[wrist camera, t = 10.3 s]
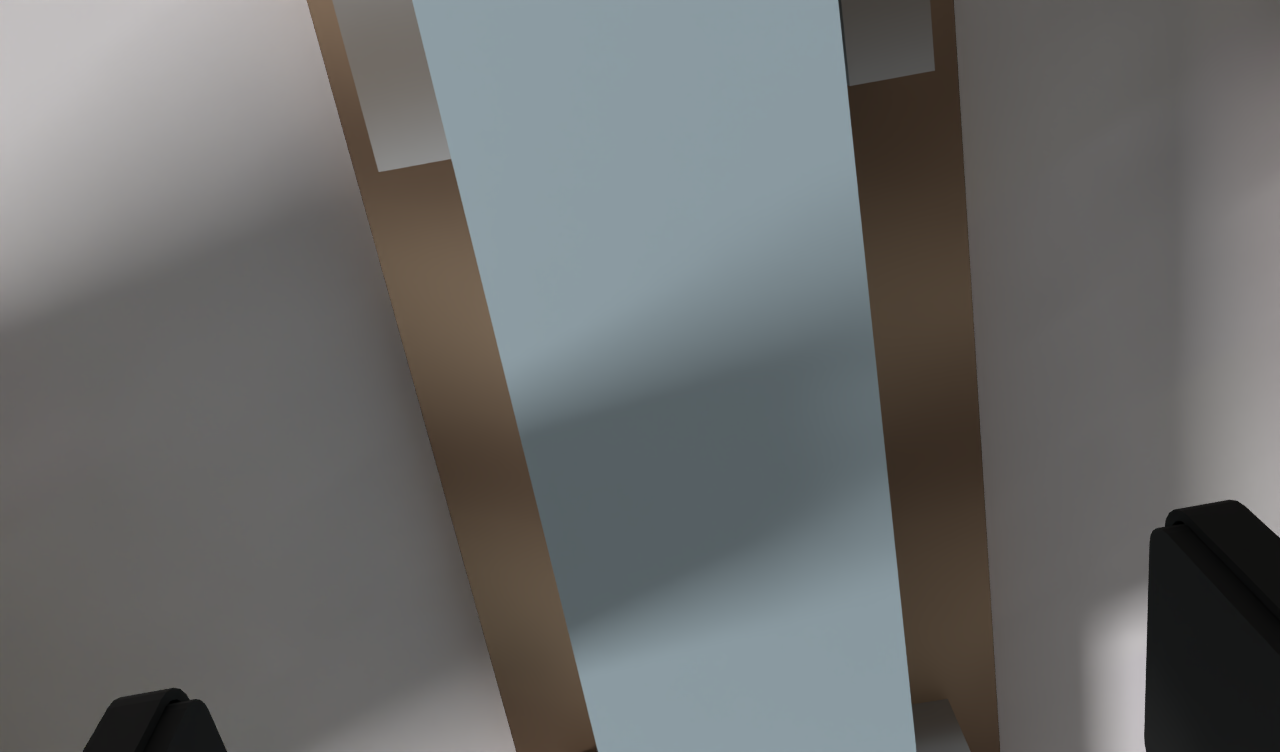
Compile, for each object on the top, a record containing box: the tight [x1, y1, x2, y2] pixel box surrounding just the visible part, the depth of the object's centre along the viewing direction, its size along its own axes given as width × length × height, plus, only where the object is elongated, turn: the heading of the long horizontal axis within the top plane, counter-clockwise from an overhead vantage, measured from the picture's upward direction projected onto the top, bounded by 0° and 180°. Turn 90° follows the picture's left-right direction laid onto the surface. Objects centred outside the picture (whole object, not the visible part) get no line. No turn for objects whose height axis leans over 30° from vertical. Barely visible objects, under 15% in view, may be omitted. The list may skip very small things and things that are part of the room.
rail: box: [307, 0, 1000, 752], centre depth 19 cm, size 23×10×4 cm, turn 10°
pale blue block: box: [412, 0, 916, 752], centre depth 16 cm, size 17×4×7 cm, turn 10°
